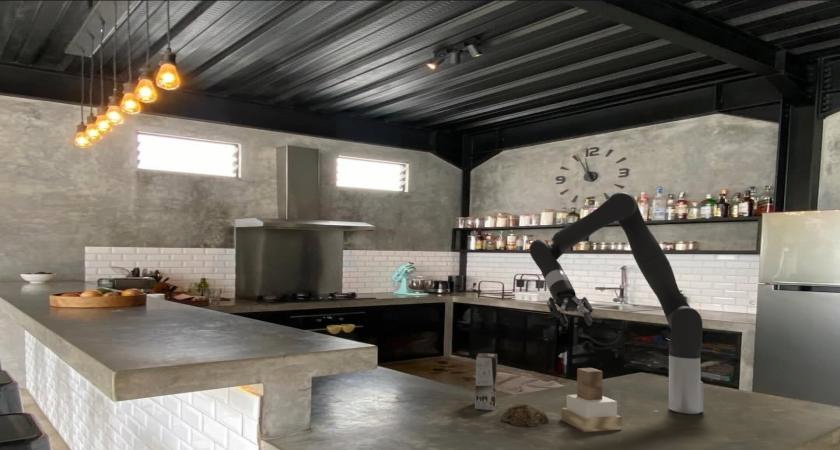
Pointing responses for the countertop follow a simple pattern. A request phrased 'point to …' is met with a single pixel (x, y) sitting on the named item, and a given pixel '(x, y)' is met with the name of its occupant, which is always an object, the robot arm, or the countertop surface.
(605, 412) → the tower top
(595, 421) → the tower base
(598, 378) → the walnut block
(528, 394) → the countertop surface
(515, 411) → the bread roll
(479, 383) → the coffee box
